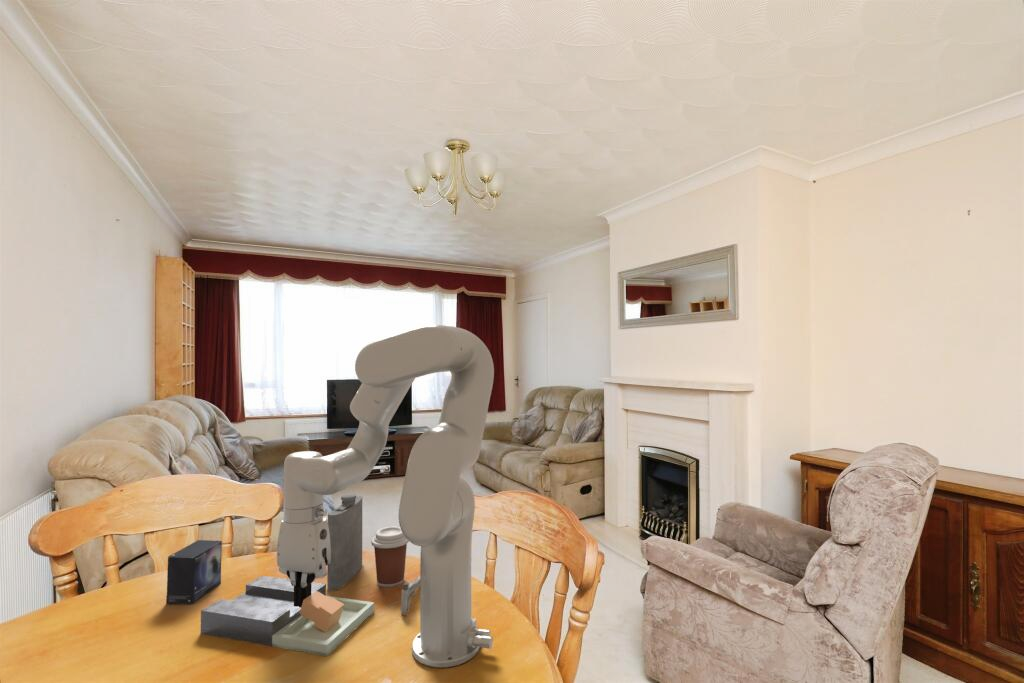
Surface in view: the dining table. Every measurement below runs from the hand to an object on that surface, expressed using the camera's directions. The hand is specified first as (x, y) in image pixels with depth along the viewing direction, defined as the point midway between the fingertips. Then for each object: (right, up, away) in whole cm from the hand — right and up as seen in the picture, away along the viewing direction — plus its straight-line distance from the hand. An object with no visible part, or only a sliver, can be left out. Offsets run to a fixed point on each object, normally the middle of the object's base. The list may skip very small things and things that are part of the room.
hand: (302, 603), depth 100 cm
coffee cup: (+13, -5, +19) cm, 24 cm away
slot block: (-8, -4, +2) cm, 10 cm away
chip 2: (+5, -1, -2) cm, 5 cm away
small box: (-31, -5, +13) cm, 34 cm away
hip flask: (+2, -5, +22) cm, 23 cm away
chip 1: (+3, -2, -1) cm, 3 cm away
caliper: (+21, -5, +13) cm, 25 cm away
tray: (+5, -4, -2) cm, 7 cm away
